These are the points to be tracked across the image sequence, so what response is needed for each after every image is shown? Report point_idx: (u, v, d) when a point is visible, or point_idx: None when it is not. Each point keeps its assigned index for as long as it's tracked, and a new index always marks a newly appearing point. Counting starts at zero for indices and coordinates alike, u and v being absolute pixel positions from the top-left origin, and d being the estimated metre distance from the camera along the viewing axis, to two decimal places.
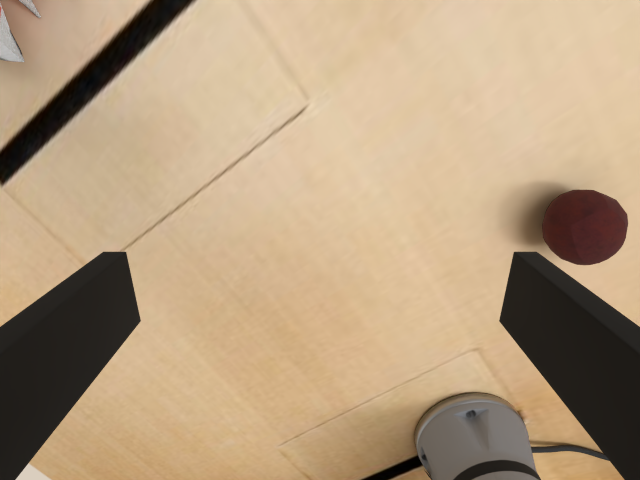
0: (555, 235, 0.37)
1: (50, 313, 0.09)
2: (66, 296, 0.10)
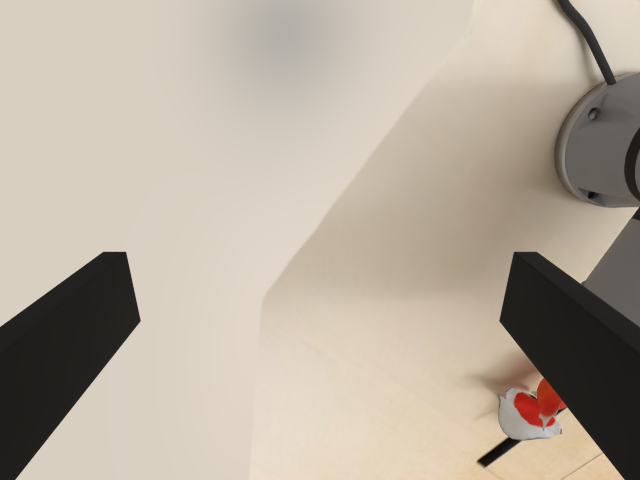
0: None
1: (50, 313, 0.09)
2: (66, 296, 0.10)
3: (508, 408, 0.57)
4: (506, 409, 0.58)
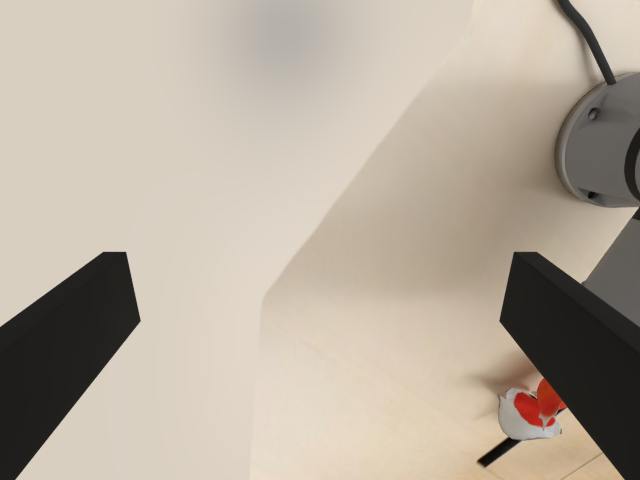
0: None
1: (50, 313, 0.09)
2: (66, 296, 0.10)
3: (508, 408, 0.57)
4: (506, 409, 0.58)
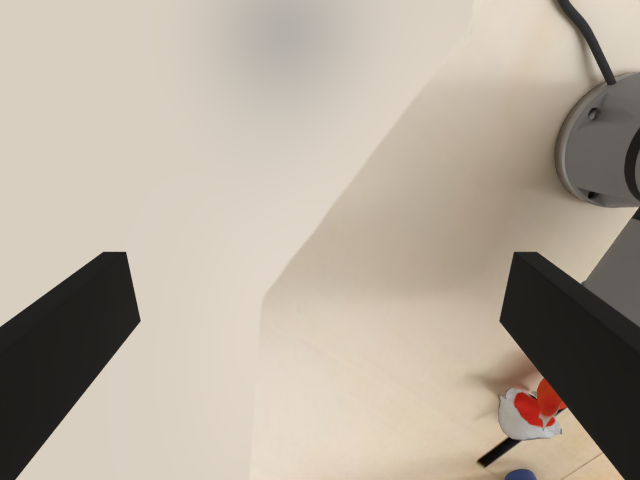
0: None
1: (50, 313, 0.09)
2: (66, 296, 0.10)
3: (508, 408, 0.57)
4: (506, 409, 0.58)
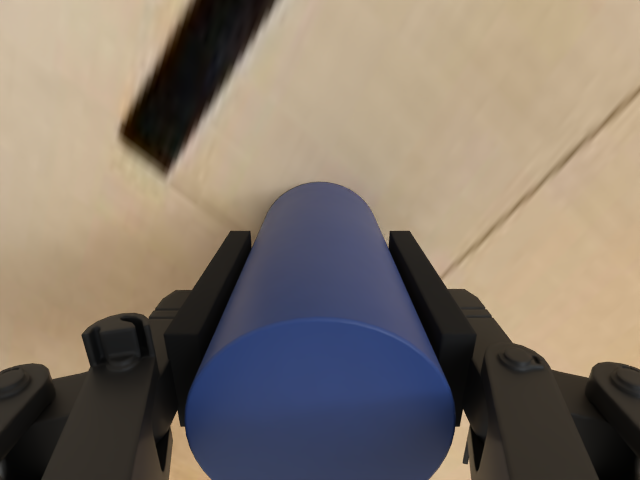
0: None
1: (228, 275, 0.11)
2: (229, 263, 0.11)
3: None
4: None
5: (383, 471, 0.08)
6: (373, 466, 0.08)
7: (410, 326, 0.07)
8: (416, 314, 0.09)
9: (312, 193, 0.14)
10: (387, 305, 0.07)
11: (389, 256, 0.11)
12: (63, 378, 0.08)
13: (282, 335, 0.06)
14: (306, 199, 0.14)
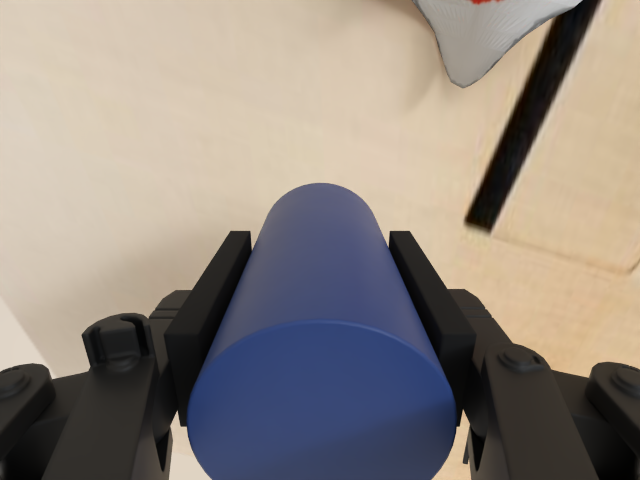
0: None
1: (228, 275, 0.11)
2: (229, 263, 0.11)
3: (450, 19, 0.23)
4: (450, 33, 0.23)
5: (384, 472, 0.08)
6: (375, 467, 0.08)
7: (411, 328, 0.07)
8: (417, 316, 0.09)
9: (313, 194, 0.14)
10: (388, 307, 0.07)
11: (390, 257, 0.11)
12: (63, 378, 0.08)
13: (284, 337, 0.06)
14: (307, 200, 0.14)
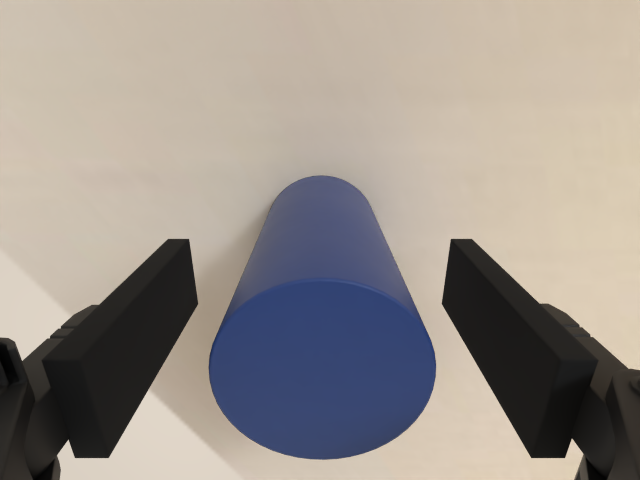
0: None
1: (143, 289, 0.10)
2: (151, 275, 0.11)
3: None
4: None
5: (376, 413, 0.09)
6: (367, 409, 0.09)
7: (398, 289, 0.09)
8: (405, 284, 0.10)
9: (314, 185, 0.16)
10: (378, 272, 0.09)
11: (383, 239, 0.12)
12: None
13: (291, 293, 0.08)
14: (309, 190, 0.15)
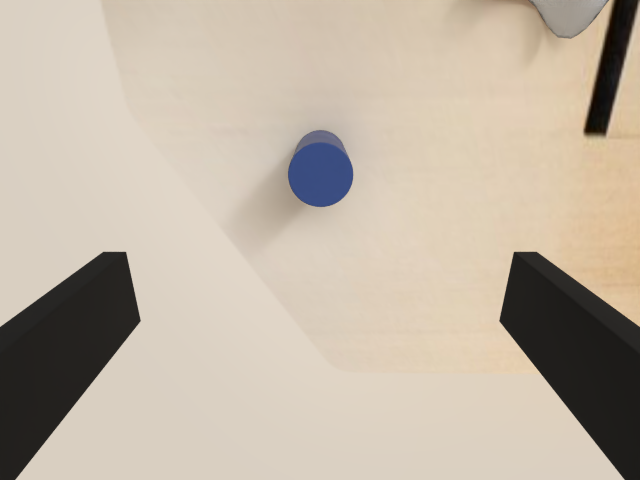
0: None
1: (50, 313, 0.09)
2: (66, 296, 0.10)
3: None
4: (551, 5, 0.34)
5: (336, 188, 0.31)
6: (334, 186, 0.31)
7: (342, 149, 0.30)
8: (346, 154, 0.32)
9: (317, 132, 0.37)
10: (336, 145, 0.30)
11: (343, 147, 0.34)
12: None
13: (312, 146, 0.29)
14: (315, 133, 0.37)
